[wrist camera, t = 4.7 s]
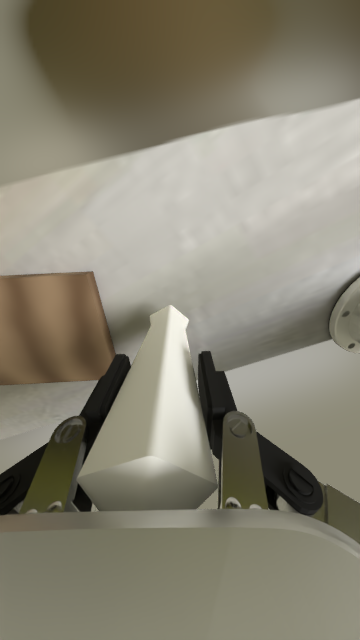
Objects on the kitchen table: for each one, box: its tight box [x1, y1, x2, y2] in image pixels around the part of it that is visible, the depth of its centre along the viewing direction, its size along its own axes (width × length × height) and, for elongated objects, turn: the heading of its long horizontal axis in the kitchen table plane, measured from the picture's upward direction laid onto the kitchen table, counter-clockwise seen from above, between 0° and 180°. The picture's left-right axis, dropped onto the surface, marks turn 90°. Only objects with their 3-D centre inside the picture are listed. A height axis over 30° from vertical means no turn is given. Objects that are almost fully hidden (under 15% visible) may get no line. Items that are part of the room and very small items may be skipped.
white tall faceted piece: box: [76, 305, 218, 511], centre depth 10 cm, size 5×4×15 cm
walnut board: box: [0, 272, 116, 385], centre depth 20 cm, size 16×14×2 cm
